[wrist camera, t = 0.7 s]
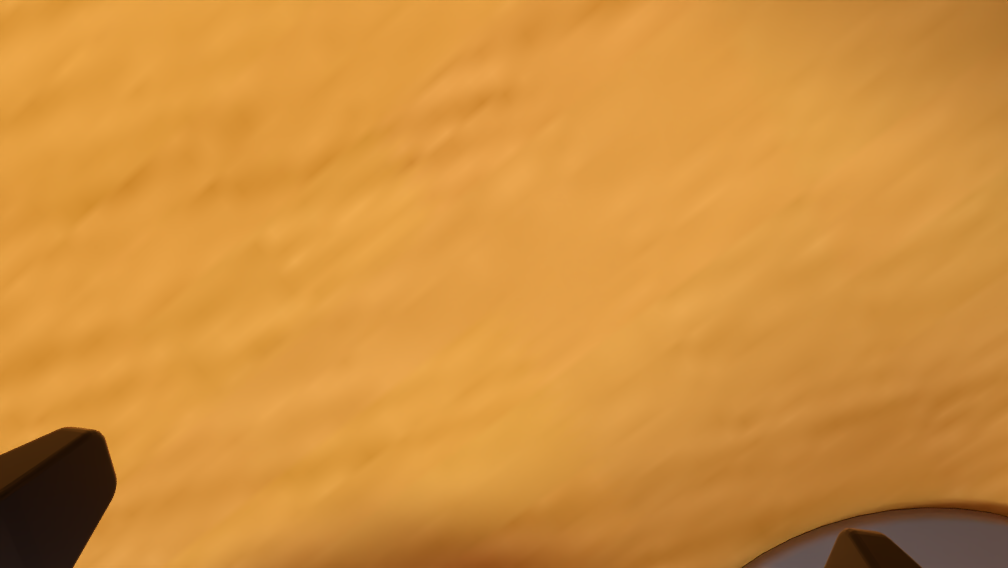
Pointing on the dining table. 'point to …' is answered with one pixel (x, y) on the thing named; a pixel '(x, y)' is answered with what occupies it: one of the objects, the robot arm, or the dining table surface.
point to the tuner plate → (907, 539)
